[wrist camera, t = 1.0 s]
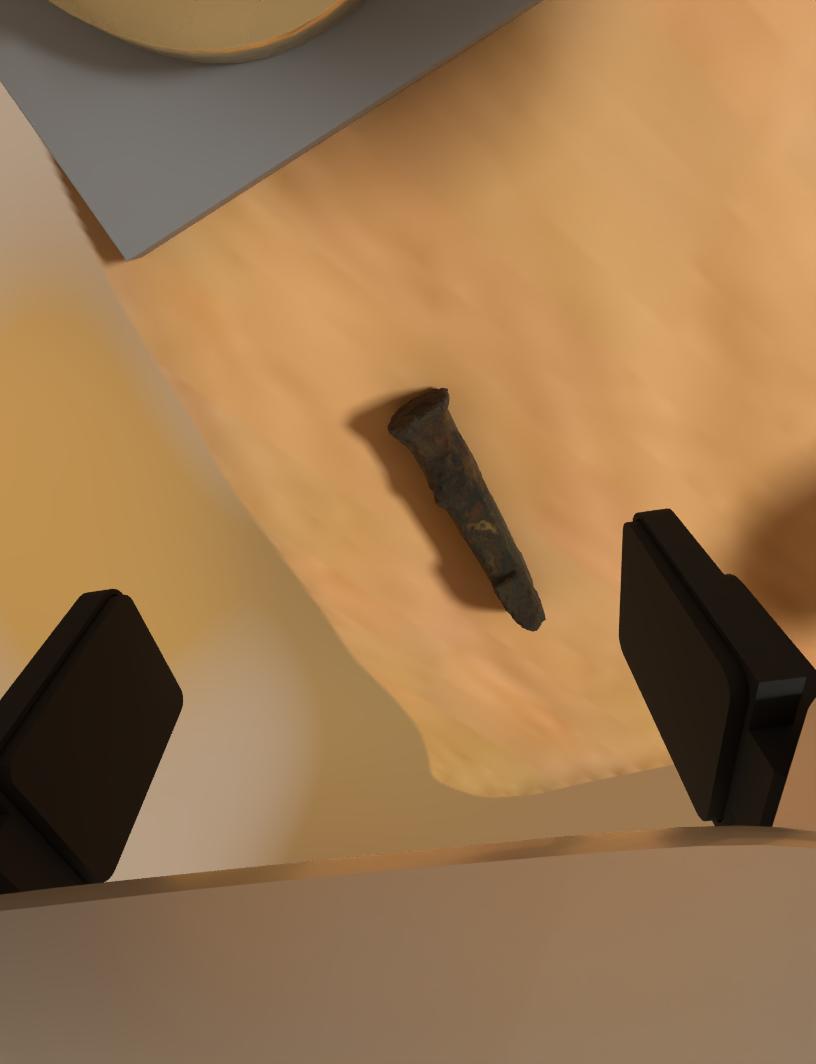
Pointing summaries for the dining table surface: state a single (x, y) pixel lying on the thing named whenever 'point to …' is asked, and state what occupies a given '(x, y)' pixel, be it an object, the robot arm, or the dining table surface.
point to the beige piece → (212, 25)
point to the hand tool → (467, 500)
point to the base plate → (211, 103)
